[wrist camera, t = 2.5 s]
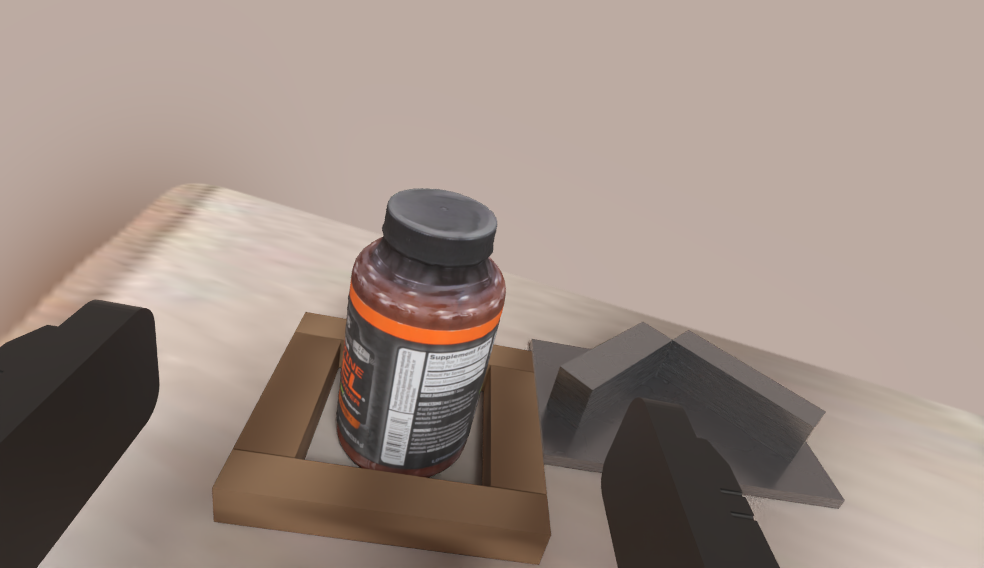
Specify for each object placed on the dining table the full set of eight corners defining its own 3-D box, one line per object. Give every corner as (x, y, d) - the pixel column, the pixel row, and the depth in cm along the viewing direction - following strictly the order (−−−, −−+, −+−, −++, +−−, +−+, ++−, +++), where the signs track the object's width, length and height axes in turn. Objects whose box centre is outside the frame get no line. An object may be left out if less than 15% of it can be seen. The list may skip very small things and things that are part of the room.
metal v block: (760, 386, 35) (783, 347, 34) (838, 508, 27) (872, 464, 26) (529, 346, 34) (542, 303, 32) (541, 463, 26) (559, 413, 24)
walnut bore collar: (523, 377, 31) (531, 351, 30) (538, 564, 21) (551, 534, 20) (303, 340, 30) (305, 311, 29) (214, 521, 20) (212, 487, 19)
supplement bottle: (324, 397, 26) (343, 170, 21) (442, 383, 29) (487, 179, 24) (348, 501, 22) (381, 247, 16) (485, 474, 25) (553, 247, 19)
